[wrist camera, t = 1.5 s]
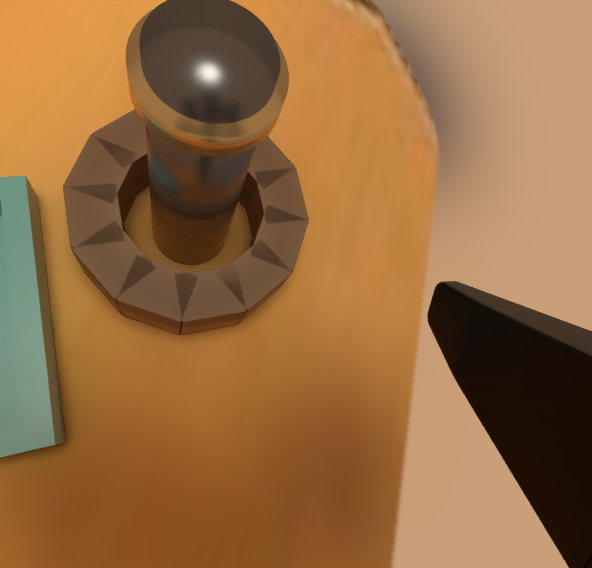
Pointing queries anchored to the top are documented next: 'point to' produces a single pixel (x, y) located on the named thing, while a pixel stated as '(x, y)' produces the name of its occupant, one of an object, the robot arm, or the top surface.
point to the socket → (163, 279)
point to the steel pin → (202, 115)
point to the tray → (25, 328)
